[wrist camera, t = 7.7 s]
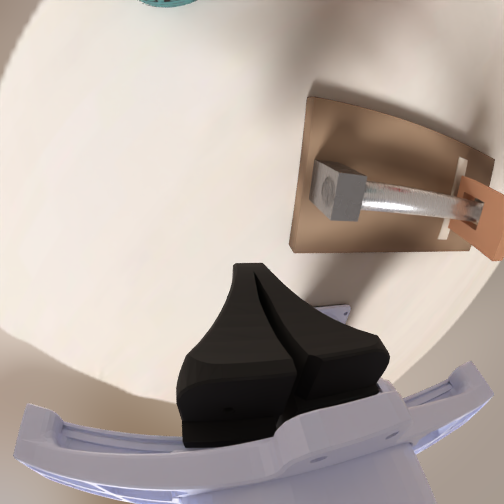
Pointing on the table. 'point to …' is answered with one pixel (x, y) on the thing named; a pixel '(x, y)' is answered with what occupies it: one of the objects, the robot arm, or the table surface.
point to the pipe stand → (380, 196)
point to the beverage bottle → (167, 2)
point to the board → (380, 179)
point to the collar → (482, 219)
